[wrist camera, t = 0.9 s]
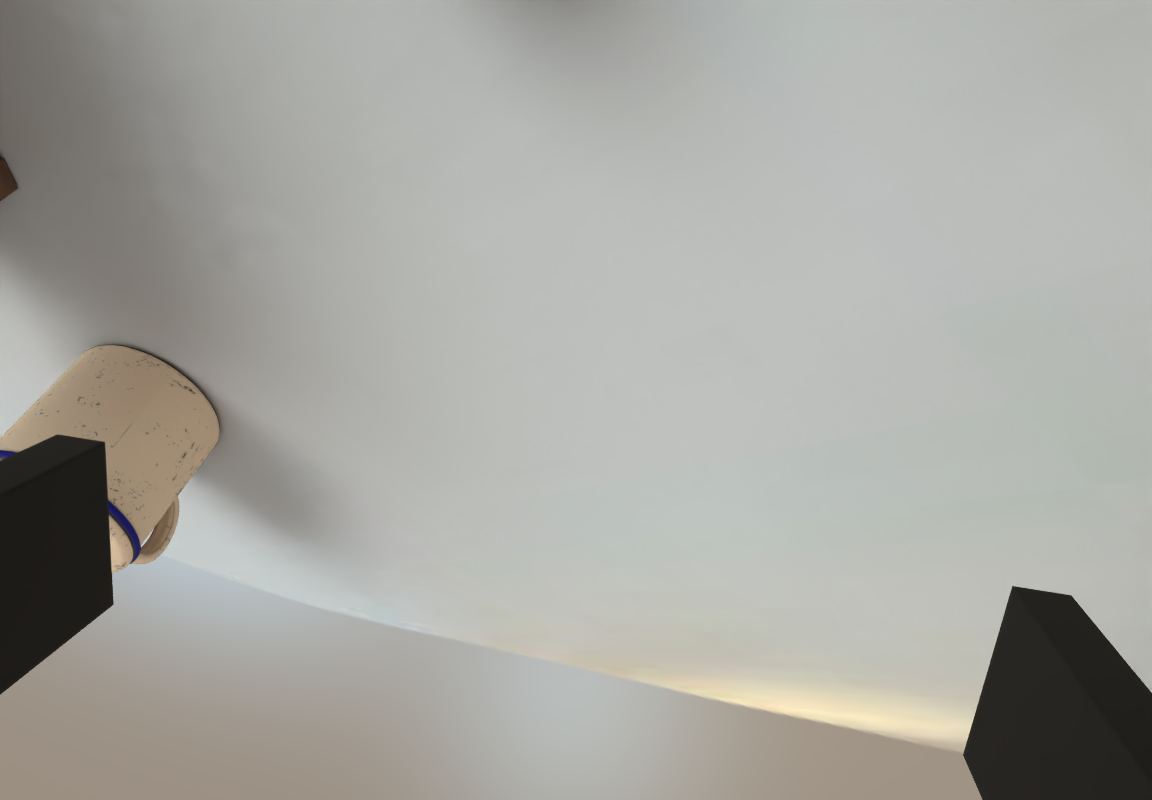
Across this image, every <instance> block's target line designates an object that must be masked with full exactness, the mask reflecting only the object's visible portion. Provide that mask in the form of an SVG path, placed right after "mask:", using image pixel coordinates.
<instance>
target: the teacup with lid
mask: <svg viewBox="0 0 1152 800" xmlns="http://www.w3.org/2000/svg"><path fill="white" fill-rule="evenodd" d="M57 434H59V435H65V436H71V437H78V438H84V439H90V440H97V441H103V442H105V448H106V468H107V488H108V507H109V527H110V547H111V567H112V572H116V571H119V570H121V569H123V568H125V567H127V566H128V565H129V564H131V563H132V564H146V563H149V562H151V561H153V560H155V559H156V558H157V557H159V556H160V555H161V554H162V552H163V551H164V550H165V549H166V547H167V546H168V544H169V542H170V540H171V538H172V536H173V534H174V531H175V529H176V526H177V522H178V517H179V499H178V495H179V493H180V492H181V491H182V489H183V488H184V487H185V485H186V484H187V483H188V481H189V480H190V479H191V477H192V476H193V475H194V473H195V472H196V471H197V469H198V468H199V467H200V465H201V464H202V462H203V461H204V460H205V458H206V457H207V456H208V454H209V453H210V452H211V450H212V449H213V448H214V446H215V445H216V443H217V441H218V438H219V423H218V419H217V416H216V414H215V412H214V410H213V408H212V406H211V405H210V403H209V402H208V400H207V399H206V398H205V396H204V395H203V394H202V393H201V392H200V390H199V389H198V388H197V387H196V386H195V385H194V384H193V383H192V382H190V381H189V380H188V379H187V378H186V377H185V376H183V375H182V374H181V373H179V372H178V371H177V370H175V369H174V368H172V367H171V366H169V365H168V364H166V363H164V362H163V361H161V360H159V359H157V358H155V357H153V356H151V355H148V354H146V353H144V352H141V351H138V350H135V349H131V348H128V347H123V346H116V345H104V346H97V347H94V348H91V349H89V350H87V351H86V352H85V353H83V354H82V355H81V356H80V357H79V358H78V359H77V360H76V361H75V362H74V363H73V364H72V365H71V366H70V367H69V368H68V369H67V370H66V371H65V372H64V373H63V374H62V375H61V376H60V378H59V379H58V380H57V381H56V382H55V383H54V384H53V385H52V386H51V387H50V388H49V389H48V390H47V391H46V392H45V393H44V394H43V395H42V396H41V397H40V398H39V399H38V400H37V401H36V402H35V403H34V404H33V405H32V406H31V407H30V408H29V409H28V410H27V411H26V412H25V413H24V414H23V415H22V416H21V417H20V418H19V419H18V420H17V422H16V423H15V424H14V425H13V426H12V427H11V428H10V429H9V430H8V431H7V432H6V433H5V434H4V435H3V436H2V437H1V438H0V460H2V459H5V458H7V457H9V456H11V455H13V454H16V453H18V452H20V451H22V450H24V449H26V448H29V447H31V446H33V445H35V444H37V443H39V442H42V441H44V440H46V439H48V438H50V437H53V436H55V435H57ZM153 528H154V530H153ZM152 530H153V532H152V534H151V536H150V537H149V539H148V540H147V542H146V543H145V544H144V545H143V546H142V547H141V544H142V543H143V542H144V540H145V539H146V538H147V536H148V535H149V534H150V532H151V531H152Z"/></svg>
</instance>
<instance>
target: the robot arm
mask: <svg viewBox="0 0 1152 800" xmlns="http://www.w3.org/2000/svg"><path fill="white" fill-rule="evenodd" d="M112 605H113V587H112V567H111V547H110V527H109V507H108V488H107V468H106V448H105V442H103V441H97V440H90V439H84V438H78V437H71V436H65V435H59V434H57V435H55V436H53V437H50V438H48V439H46V440H44V441H42V442H39V443H37V444H35V445H33V446H31V447H29V448H26V449H24V450H22V451H20V452H18V453H16V454H13V455H11V456H9V457H7V458H5V459H2V460H0V694H1V693H3V692H4V691H5V690H6V689H8V688H9V687H10V686H12V685H13V684H14V683H15V682H17V681H18V680H19V679H20V678H22V677H23V676H24V675H25V674H27V673H28V672H29V671H30V670H32V669H33V668H34V667H35V666H37V665H38V664H39V663H40V662H42V661H43V660H44V659H45V658H47V657H48V656H49V655H51V654H52V653H53V652H54V651H56V650H57V649H58V648H59V647H61V646H62V645H63V644H64V643H66V642H67V641H68V640H69V639H71V638H72V637H73V636H74V635H76V634H77V633H78V632H79V631H80V630H81V629H83V628H84V627H86V626H87V625H88V624H90V623H91V622H92V621H93V620H95V619H96V618H97V617H98V616H100V615H101V614H102V613H103V612H105V611H106V610H107V609H108V608H110V607H111V606H112ZM963 756H964V758H965V760H966V762H967V765H968V767H969V770H970V772H971V774H972V776H973V778H974V781H975V783H976V785H977V788H978V790H979V792H980V795H981V797H982V799H983V800H1152V693H1151V692H1150V690H1149V689H1148V688H1147V687H1146V686H1145V684H1144V683H1143V682H1142V681H1141V679H1140V678H1139V677H1138V676H1137V675H1136V673H1135V672H1134V671H1133V670H1132V669H1131V667H1130V666H1129V665H1128V664H1127V663H1126V661H1125V660H1124V659H1123V658H1122V656H1121V655H1120V654H1119V653H1118V652H1117V650H1116V649H1115V648H1114V647H1113V646H1112V644H1111V643H1110V642H1109V641H1108V640H1107V638H1106V637H1105V636H1104V635H1103V633H1102V632H1101V631H1100V630H1099V629H1098V627H1097V626H1096V625H1095V624H1094V623H1093V621H1092V620H1091V619H1090V618H1089V617H1088V615H1087V614H1086V613H1085V612H1084V610H1083V609H1082V608H1081V607H1080V606H1079V604H1078V603H1077V602H1076V601H1075V600H1074V598H1073V597H1072V596H1071V595H1065V594H1059V593H1052V592H1046V591H1040V590H1033V589H1027V588H1021V587H1015V586H1012V590H1011V593H1010V596H1009V600H1008V603H1007V607H1006V610H1005V614H1004V617H1003V620H1002V624H1001V627H1000V631H999V634H998V637H997V641H996V644H995V648H994V651H993V655H992V658H991V661H990V665H989V668H988V672H987V675H986V679H985V682H984V685H983V689H982V692H981V696H980V699H979V703H978V706H977V709H976V713H975V716H974V720H973V723H972V727H971V730H970V733H969V737H968V740H967V744H966V747H965V751H964V754H963Z"/></svg>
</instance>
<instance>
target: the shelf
mask: <svg viewBox="0 0 1152 800" xmlns="http://www.w3.org/2000/svg"><path fill="white" fill-rule="evenodd" d="M17 188H18V187H17V185H16V183H15V181H14V179H13V177H12V175H11V173H10V171H9V169H8V167H7V165H6V163H5V161H4V159H3V158H0V202H1V201H2V200H3V199H5V198H6V197H7V196H8V195H10V194H11V193H12V192H14V191H15V190H16V189H17Z"/></svg>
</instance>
